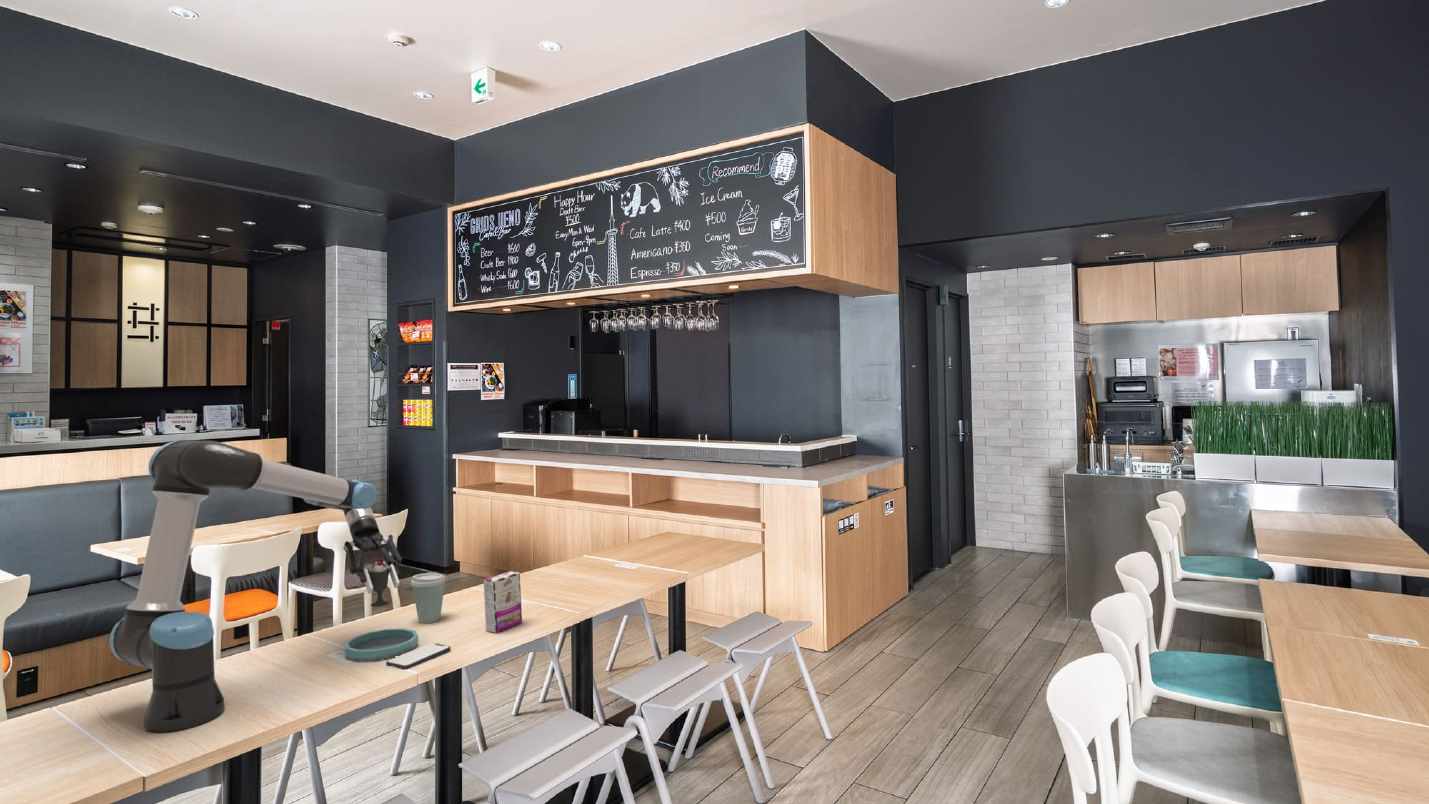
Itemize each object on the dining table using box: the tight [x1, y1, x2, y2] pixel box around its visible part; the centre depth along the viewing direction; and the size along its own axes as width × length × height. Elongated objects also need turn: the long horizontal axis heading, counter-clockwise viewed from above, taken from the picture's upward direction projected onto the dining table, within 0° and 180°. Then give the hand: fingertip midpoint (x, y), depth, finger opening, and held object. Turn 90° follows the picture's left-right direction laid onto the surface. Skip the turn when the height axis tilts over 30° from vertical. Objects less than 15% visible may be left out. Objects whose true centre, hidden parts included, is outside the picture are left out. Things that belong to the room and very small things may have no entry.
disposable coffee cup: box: [410, 572, 446, 624], centre depth 238 cm, size 11×11×15 cm
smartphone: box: [385, 642, 451, 670], centre depth 204 cm, size 9×2×16 cm
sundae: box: [367, 554, 392, 608], centre depth 211 cm, size 7×7×15 cm
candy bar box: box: [483, 570, 523, 634], centre depth 229 cm, size 11×5×16 cm, turn 150°
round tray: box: [344, 628, 419, 662], centre depth 212 cm, size 19×19×3 cm
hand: (384, 587), depth 209 cm, fingers closed on sundae, 7 cm apart
